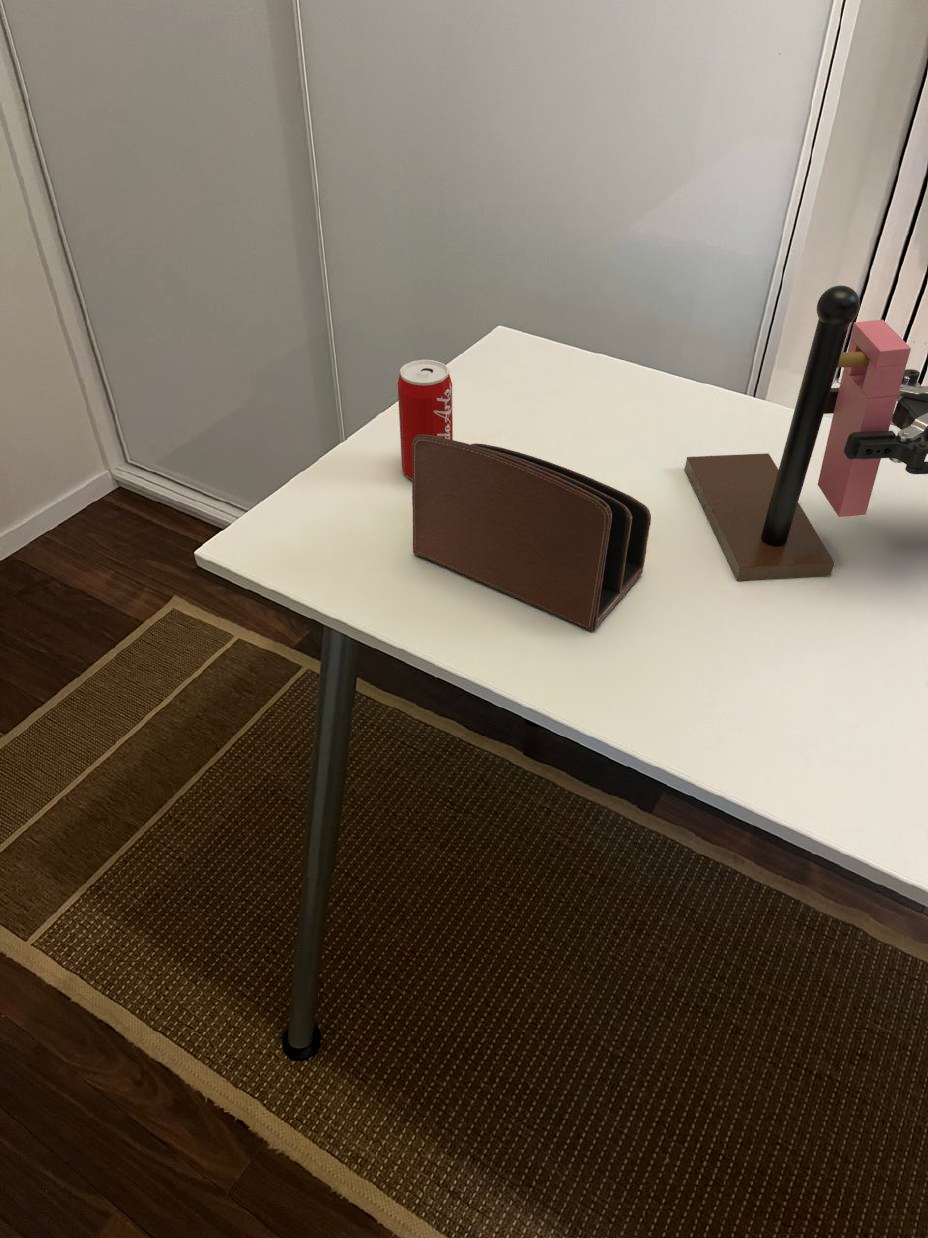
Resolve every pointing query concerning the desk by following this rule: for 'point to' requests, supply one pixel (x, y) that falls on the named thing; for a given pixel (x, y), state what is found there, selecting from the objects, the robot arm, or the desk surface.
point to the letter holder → (527, 527)
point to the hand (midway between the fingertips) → (831, 423)
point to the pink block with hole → (862, 414)
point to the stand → (767, 497)
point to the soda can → (423, 405)
